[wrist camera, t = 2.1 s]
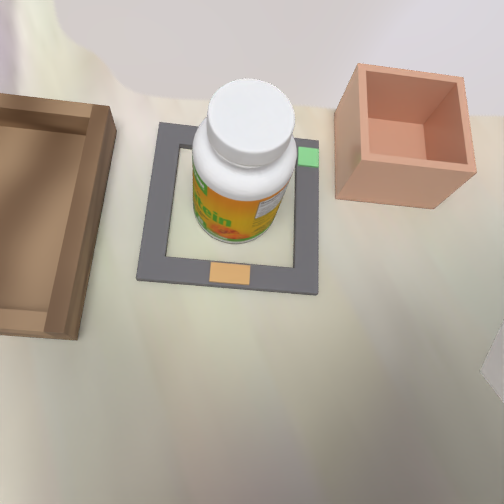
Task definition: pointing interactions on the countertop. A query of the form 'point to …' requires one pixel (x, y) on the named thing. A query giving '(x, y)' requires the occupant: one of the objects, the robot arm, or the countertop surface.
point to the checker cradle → (216, 272)
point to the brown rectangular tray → (49, 210)
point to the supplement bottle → (242, 160)
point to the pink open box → (402, 137)
